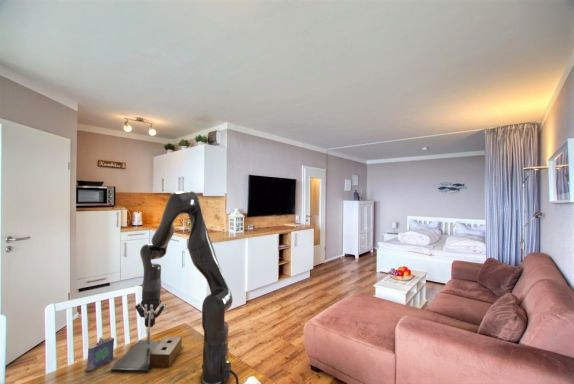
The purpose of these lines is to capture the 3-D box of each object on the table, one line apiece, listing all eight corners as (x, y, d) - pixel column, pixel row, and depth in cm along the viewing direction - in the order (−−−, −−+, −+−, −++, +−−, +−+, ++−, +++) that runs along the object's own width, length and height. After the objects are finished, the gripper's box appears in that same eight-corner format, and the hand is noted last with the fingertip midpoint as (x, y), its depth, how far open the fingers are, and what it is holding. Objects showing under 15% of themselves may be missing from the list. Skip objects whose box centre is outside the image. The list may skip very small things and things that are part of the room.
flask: (88, 372, 99) (90, 344, 99) (84, 369, 100) (86, 342, 100) (114, 359, 107) (115, 333, 107) (110, 357, 108) (111, 331, 108)
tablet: (169, 343, 120) (169, 340, 120) (146, 372, 100) (147, 369, 100) (139, 342, 119) (139, 340, 119) (110, 371, 99) (111, 369, 99)
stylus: (151, 344, 115) (152, 314, 116) (149, 345, 114) (151, 315, 114) (148, 343, 115) (149, 314, 116) (146, 345, 114) (147, 315, 114)
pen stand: (181, 348, 116) (181, 337, 116) (168, 367, 103) (169, 354, 103) (163, 347, 116) (164, 336, 116) (149, 366, 103) (149, 354, 103)
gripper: (131, 290, 111) (129, 330, 111) (162, 291, 111) (161, 331, 111) (141, 284, 119) (139, 321, 118) (170, 285, 119) (168, 322, 119)
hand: (149, 326), depth 115 cm, fingers closed on stylus, 1 cm apart
